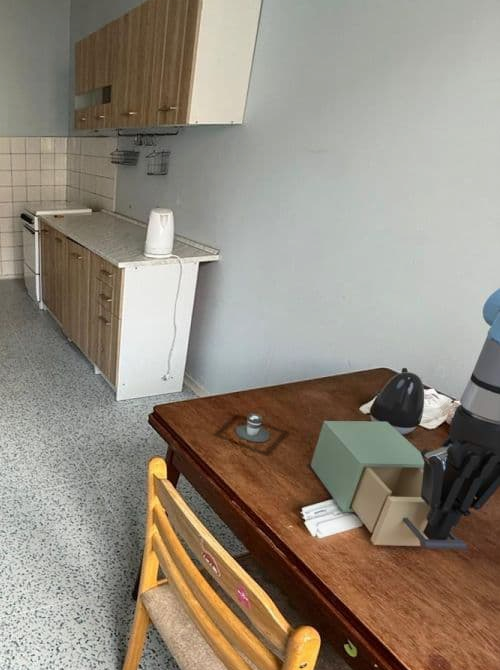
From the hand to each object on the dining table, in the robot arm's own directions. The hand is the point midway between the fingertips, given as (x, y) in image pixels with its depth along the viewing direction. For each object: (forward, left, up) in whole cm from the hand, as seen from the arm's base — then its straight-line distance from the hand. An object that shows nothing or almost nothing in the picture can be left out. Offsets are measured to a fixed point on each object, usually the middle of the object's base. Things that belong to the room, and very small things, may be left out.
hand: (433, 538), depth 76 cm
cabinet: (0, -20, -6) cm, 21 cm away
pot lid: (+15, -40, -6) cm, 43 cm away
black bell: (-19, -43, -6) cm, 47 cm away
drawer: (0, -7, -5) cm, 9 cm away
